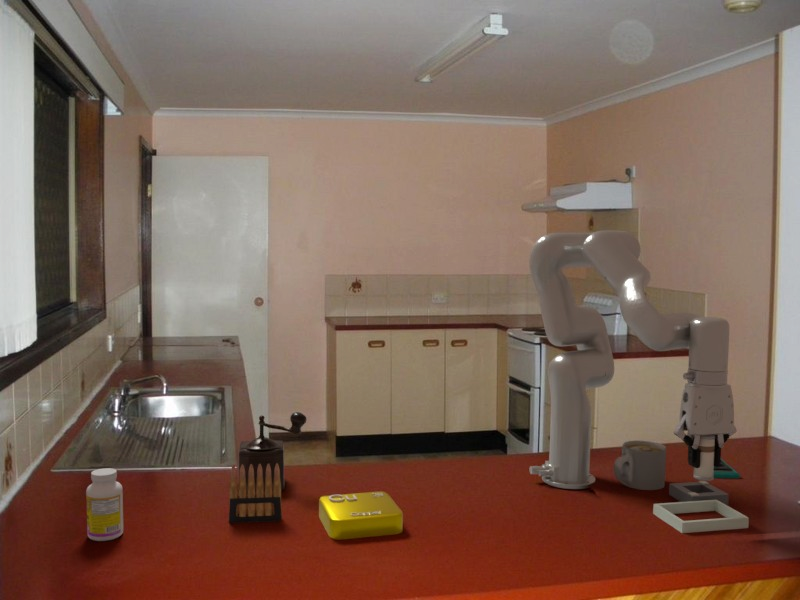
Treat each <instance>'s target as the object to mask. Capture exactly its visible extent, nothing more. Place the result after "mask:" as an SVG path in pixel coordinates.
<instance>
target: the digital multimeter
mask: <svg viewBox="0 0 800 600" xmlns="http://www.w3.org/2000/svg"><path fill="white" fill-rule="evenodd" d="M713 476H714V479H728V480H729V479H733V480H734V479H735V480H736V479H739V480H740V479H741V475H740V473H739V472H738V471H736V470H735V469H734V468H732V467H731V466H730V465H729V464H728V463H727V462H725V461H724V460H723V458H721V460H720V466H719V467H716V466H714V473H713Z"/></svg>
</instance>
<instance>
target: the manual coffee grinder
mask: <svg viewBox="0 0 800 600" xmlns="http://www.w3.org/2000/svg"><path fill="white" fill-rule="evenodd" d="M258 419H259V420H258V425H259V436H258V437H256V438H254V439H251V440H242V441H240V444H239V449H238V477H239V476H240V468H241V465H242V464H243V465H244V468H245V478H246V486H247V484H248V473H249V467H250V465H251V464H252V465H253V469H254V480H255V493H256V482H257V470H258V466H259V464H261V466H262V471H263V482H264V485H265V477H266V468H267V465H268V463H269V465H270V468H271V477H272V490H273V482H274V470H275V466H276V463H278V465H279V469H280V481H281V491H284V490H285V484H286V483H285V481H286V480H285V457H284V456H285V455H284V454H285V444H284V441H283V440H275V439H271V438H269V437H266V436H265V433H264V431H265V430H264V427H266V428H269V429H275V430H280V431H285V432H288V433H291V434H293V435H297V434H301V433H302V427H303V426H304V425H305V424H306V423H307V416H306V415H305V414H303V413H302V412H300V411H299V412H298V411H296V412H294V413H292V414H291V415H290V418H289V419H290V422H291V426H290V427H287V426H283V425H277V424H272V423H271V424H270V423H266V421H265V416H264V415H259V417H258Z"/></svg>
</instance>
